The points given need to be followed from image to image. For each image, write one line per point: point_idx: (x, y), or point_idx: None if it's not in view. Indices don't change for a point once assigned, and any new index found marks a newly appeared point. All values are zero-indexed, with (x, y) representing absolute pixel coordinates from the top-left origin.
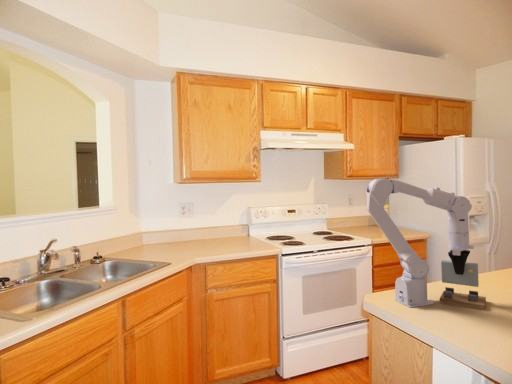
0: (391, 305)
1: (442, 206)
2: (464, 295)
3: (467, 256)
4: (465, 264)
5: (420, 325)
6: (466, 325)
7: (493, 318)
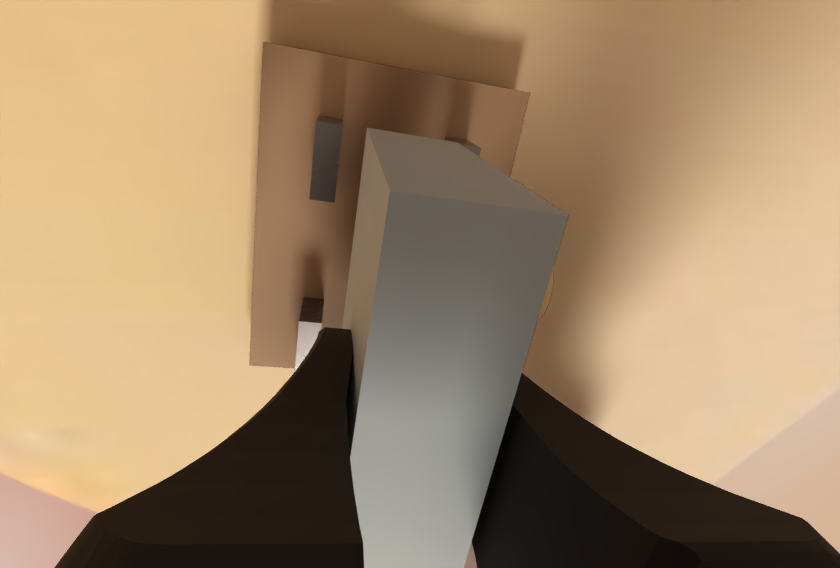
0: None
1: None
2: (307, 223)
3: (819, 535)
4: (507, 402)
5: (796, 408)
6: (782, 223)
7: (649, 49)
